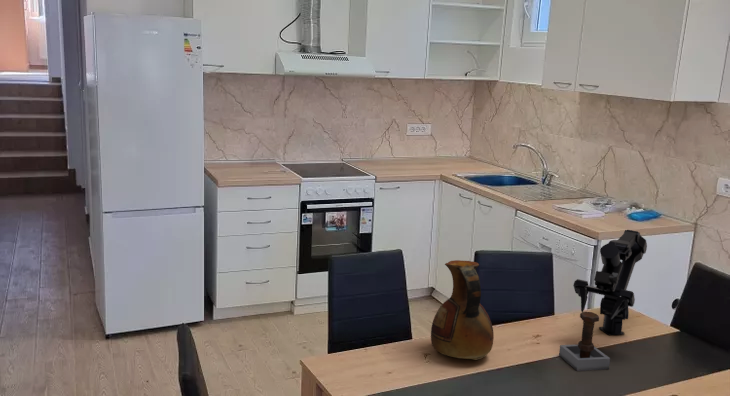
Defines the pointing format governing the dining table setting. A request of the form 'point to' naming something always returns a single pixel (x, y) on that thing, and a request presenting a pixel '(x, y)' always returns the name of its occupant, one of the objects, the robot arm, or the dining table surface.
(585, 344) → the bolt
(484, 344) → the ceramic pitcher
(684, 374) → the dining table surface
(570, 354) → the socket block
